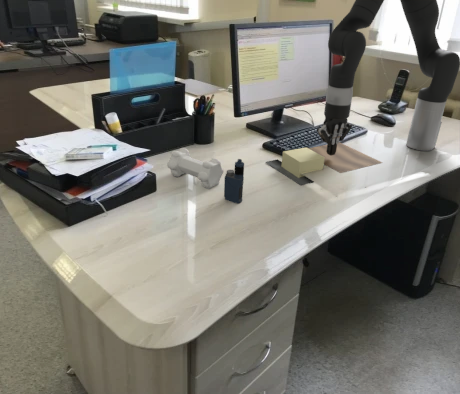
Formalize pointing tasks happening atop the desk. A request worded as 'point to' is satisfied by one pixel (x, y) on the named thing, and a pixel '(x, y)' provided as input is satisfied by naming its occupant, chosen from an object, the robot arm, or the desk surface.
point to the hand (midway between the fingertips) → (330, 154)
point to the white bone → (195, 168)
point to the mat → (288, 173)
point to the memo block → (302, 161)
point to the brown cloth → (345, 158)
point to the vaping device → (234, 183)
